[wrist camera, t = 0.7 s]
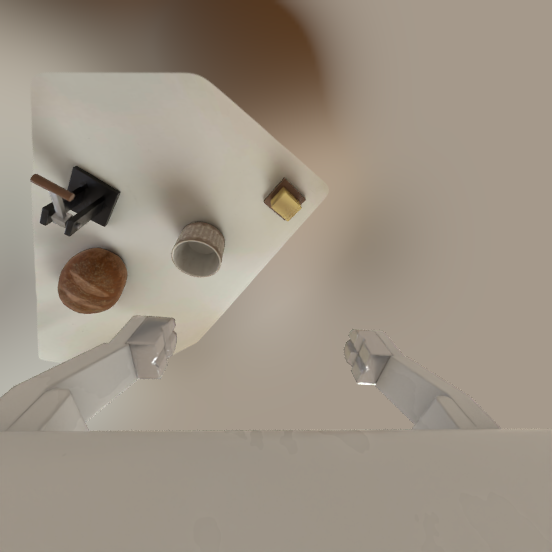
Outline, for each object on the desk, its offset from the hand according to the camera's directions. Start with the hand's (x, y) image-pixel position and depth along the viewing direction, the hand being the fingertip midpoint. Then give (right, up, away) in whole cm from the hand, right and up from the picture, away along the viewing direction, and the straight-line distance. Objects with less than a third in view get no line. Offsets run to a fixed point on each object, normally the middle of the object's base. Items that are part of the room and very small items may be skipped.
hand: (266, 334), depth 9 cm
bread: (-59, +3, +59) cm, 84 cm away
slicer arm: (-41, +17, +30) cm, 54 cm away
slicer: (-46, +23, +42) cm, 66 cm away
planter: (-22, +14, +52) cm, 58 cm away
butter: (+3, +24, +45) cm, 51 cm away
